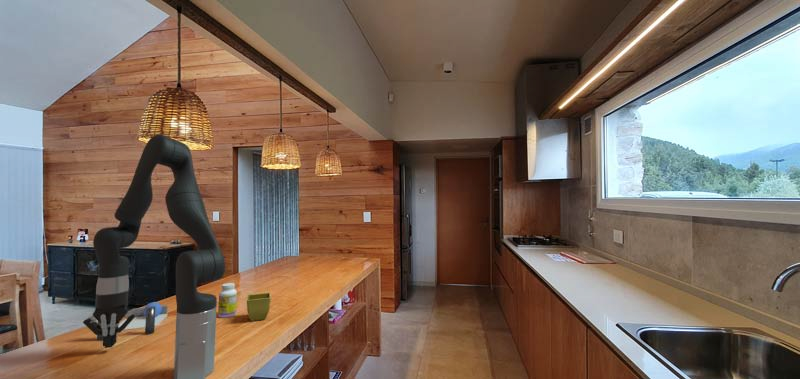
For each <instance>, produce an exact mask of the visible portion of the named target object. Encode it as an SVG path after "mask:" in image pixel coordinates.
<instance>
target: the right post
mask: <svg viewBox="0 0 800 379" xmlns="http://www.w3.org/2000/svg"><path fill="white" fill-rule="evenodd" d="M155 327H156V326H155V306H152V307H147V308H146V324H145V328H144V329H145V330H144V335H147V336H148V335H152V334H154V333H155Z"/></svg>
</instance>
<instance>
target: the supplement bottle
mask: <svg viewBox="0 0 800 379" xmlns="http://www.w3.org/2000/svg"><path fill="white" fill-rule="evenodd" d="M221 289H222V290H220V292H218V305H217V306H218V311H217V317H219V318H230V317H233V316H235V315H236V314H237V301H238V300H237V298H238V291H237V290H236V288H235V283H234V282H228V283H223V284H221Z"/></svg>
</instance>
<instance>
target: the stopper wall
mask: <svg viewBox="0 0 800 379" xmlns="http://www.w3.org/2000/svg"><path fill="white" fill-rule="evenodd" d="M161 306H162V311H161V313H160V314H159V315H162V314H168V306H169V305H161ZM144 308H145V307H137V308H132V309H131V310H130V311H131V312H132V313H137V316H136V317H144V316H145V315H144V313H143V311H144Z"/></svg>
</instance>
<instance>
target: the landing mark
mask: <svg viewBox="0 0 800 379" xmlns="http://www.w3.org/2000/svg"><path fill="white" fill-rule="evenodd" d="M168 315H169V314H168V313H166V314H159V315H158V316H156V317H155V327H158V326H159V325H160V324H161V323H162V322H163V321H164V320H165V318H167V316H168ZM126 320H127V319H126V318H125V319H122V320H121V321H120V323H119V326H118V328H119V327H120V326H121V325H122V324H123V323H124V322H125V321H126ZM145 324H146V316H139V317H135V318H134V319H133V320H132V321H131V322H130V323H129V324H128V325H127V327H126V328H125V329H124V330H123V331H128V330H135V329H136V330H137V329H145Z"/></svg>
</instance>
